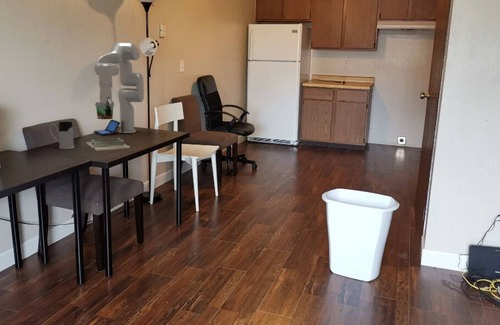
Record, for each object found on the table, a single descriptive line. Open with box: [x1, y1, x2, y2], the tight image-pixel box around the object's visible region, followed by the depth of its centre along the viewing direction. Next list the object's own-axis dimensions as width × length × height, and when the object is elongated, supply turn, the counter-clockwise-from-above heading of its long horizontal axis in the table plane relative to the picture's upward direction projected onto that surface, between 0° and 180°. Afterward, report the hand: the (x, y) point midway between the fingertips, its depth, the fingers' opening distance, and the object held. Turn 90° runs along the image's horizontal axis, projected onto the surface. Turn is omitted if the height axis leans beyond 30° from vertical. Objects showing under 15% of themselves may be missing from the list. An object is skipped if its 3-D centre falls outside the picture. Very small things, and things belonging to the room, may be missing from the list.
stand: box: [85, 137, 131, 152], centre depth 282 cm, size 22×20×4 cm
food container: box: [94, 100, 115, 120], centre depth 277 cm, size 12×6×10 cm, turn 142°
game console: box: [93, 119, 120, 137], centre depth 321 cm, size 16×14×9 cm
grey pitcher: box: [49, 121, 75, 150], centre depth 273 cm, size 9×14×15 cm, turn 86°
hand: (106, 114), depth 278 cm, fingers closed on food container, 5 cm apart
